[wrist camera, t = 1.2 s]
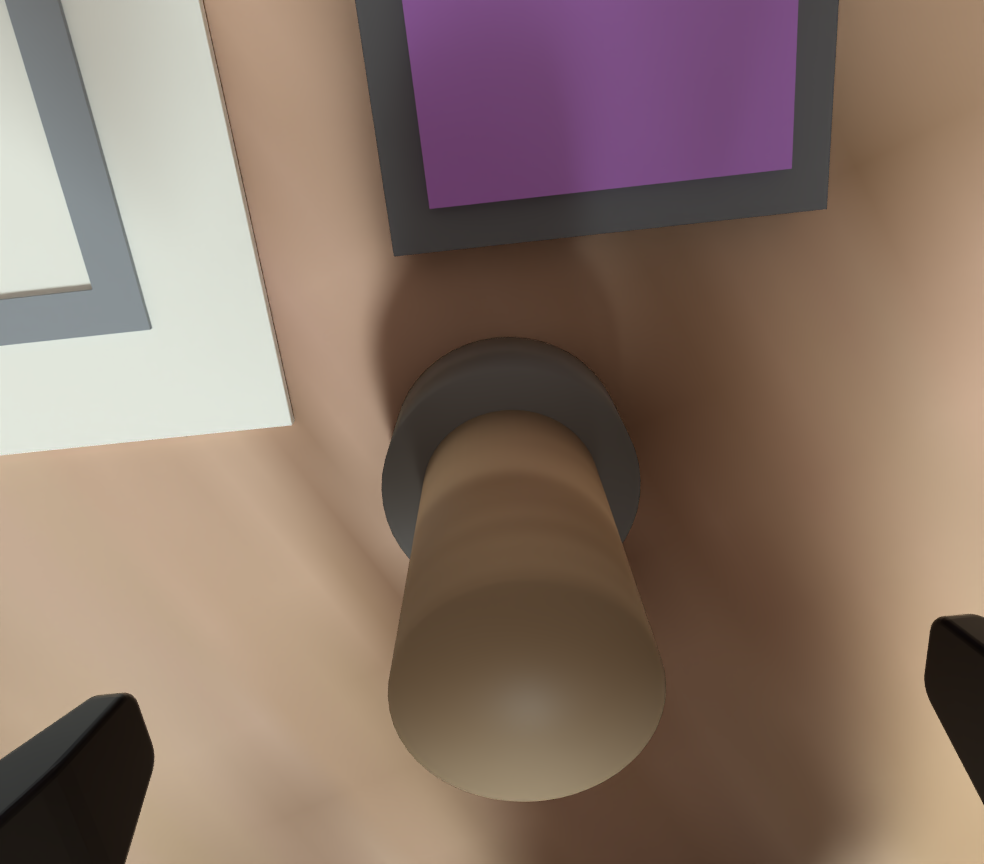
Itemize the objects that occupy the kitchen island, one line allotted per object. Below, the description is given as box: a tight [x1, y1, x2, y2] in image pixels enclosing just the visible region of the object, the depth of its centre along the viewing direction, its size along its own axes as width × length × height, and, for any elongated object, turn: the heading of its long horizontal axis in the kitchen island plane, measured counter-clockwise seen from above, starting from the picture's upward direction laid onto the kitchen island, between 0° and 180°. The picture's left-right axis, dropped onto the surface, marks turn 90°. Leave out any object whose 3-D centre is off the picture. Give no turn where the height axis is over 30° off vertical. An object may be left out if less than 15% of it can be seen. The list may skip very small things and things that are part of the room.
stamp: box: [382, 337, 666, 802], centre depth 11 cm, size 4×4×7 cm
